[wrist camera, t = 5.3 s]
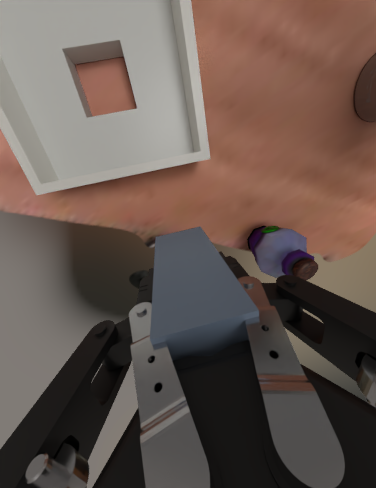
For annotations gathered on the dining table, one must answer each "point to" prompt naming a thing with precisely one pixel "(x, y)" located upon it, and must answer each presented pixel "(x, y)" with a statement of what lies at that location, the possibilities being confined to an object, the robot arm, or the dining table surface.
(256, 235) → the potion bottle
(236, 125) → the dining table surface
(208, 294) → the peg
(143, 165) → the walled box
